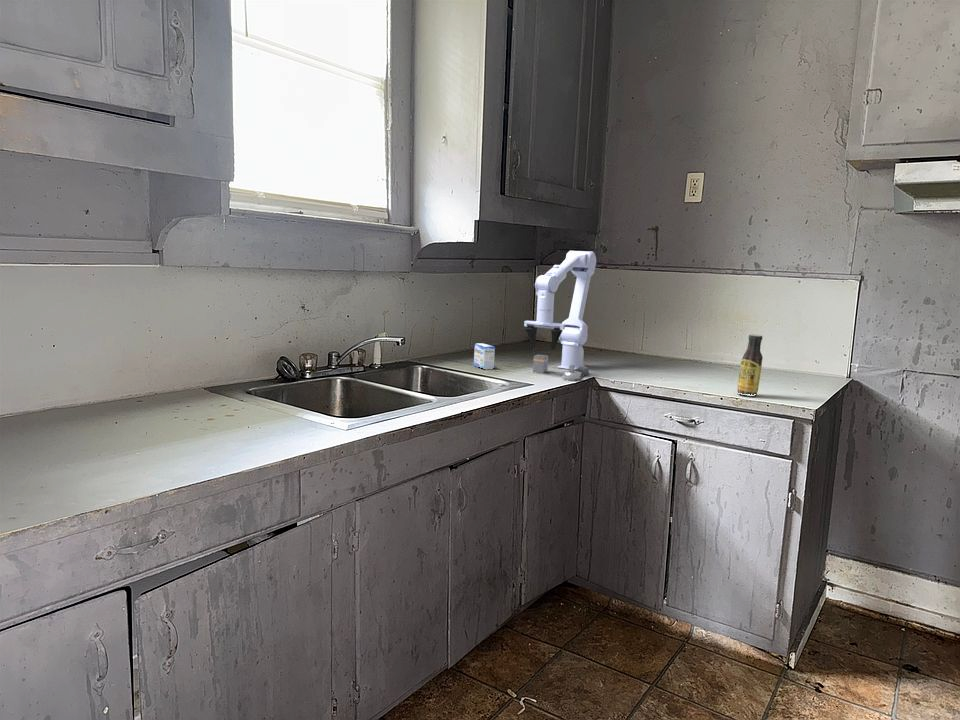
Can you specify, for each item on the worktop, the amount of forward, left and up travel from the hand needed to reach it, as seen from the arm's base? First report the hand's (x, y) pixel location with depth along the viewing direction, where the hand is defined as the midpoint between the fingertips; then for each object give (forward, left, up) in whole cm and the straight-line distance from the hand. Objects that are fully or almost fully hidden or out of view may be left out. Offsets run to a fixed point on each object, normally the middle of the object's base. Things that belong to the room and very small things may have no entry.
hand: (543, 348), depth 234 cm
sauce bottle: (-11, +67, -10) cm, 69 cm away
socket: (-5, -3, -10) cm, 11 cm away
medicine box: (+1, -23, -10) cm, 25 cm away
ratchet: (-4, +11, -10) cm, 16 cm away
